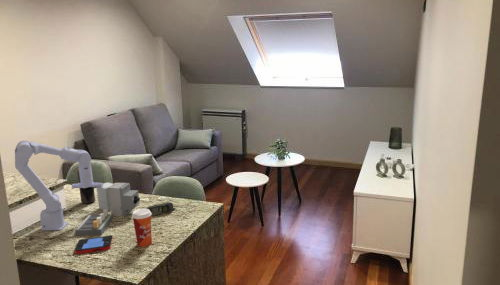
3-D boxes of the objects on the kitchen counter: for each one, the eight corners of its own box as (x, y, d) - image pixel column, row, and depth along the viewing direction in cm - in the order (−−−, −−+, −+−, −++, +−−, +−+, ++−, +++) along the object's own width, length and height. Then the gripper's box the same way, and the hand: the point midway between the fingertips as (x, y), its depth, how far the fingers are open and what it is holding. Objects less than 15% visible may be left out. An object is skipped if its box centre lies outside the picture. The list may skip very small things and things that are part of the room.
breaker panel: (75, 235, 186) (73, 224, 184) (89, 219, 202) (88, 209, 201) (101, 234, 186) (100, 223, 184) (113, 218, 202) (112, 208, 201)
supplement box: (119, 206, 217) (116, 184, 214) (107, 211, 211) (105, 188, 208) (110, 203, 221) (107, 181, 218) (98, 208, 215) (95, 186, 212)
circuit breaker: (136, 217, 203) (133, 189, 200) (110, 215, 206) (107, 187, 203) (143, 210, 211) (140, 183, 207) (118, 209, 213) (115, 182, 210)
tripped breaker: (93, 228, 186) (92, 222, 185) (95, 226, 188) (94, 220, 187) (97, 228, 186) (96, 222, 185) (98, 226, 188) (97, 220, 187)
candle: (92, 204, 220) (87, 169, 215) (78, 205, 220) (74, 170, 215) (97, 199, 227) (93, 165, 222) (84, 199, 228) (80, 165, 223)
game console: (113, 237, 184) (112, 232, 183) (110, 251, 172) (109, 246, 171) (79, 241, 181) (78, 236, 180) (74, 255, 169) (73, 251, 168)
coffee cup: (144, 250, 171) (141, 217, 167) (130, 245, 175) (127, 213, 171) (158, 241, 178) (155, 210, 174) (145, 237, 182) (142, 206, 178)
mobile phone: (146, 208, 202) (175, 201, 208) (145, 206, 204) (174, 199, 211) (148, 217, 203) (176, 210, 210) (146, 215, 206) (174, 208, 212)
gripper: (67, 178, 193) (71, 205, 196) (98, 177, 193) (101, 204, 196) (73, 173, 200) (77, 199, 203) (103, 172, 200) (106, 198, 203)
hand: (89, 201), depth 200 cm, fingers closed
